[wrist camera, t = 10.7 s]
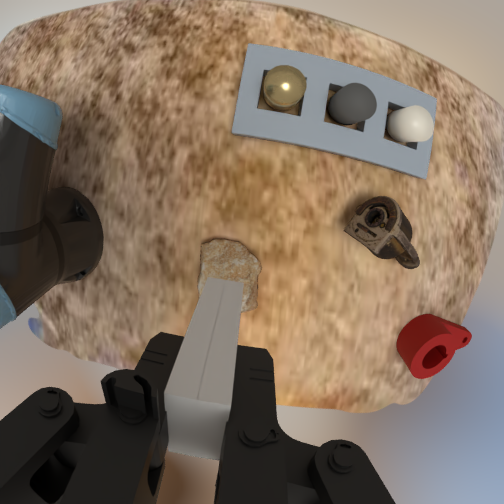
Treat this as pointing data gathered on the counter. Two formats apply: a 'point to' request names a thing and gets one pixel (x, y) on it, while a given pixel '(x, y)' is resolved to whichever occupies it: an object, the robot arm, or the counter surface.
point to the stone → (231, 268)
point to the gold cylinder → (284, 87)
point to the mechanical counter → (384, 231)
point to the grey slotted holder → (314, 105)
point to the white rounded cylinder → (410, 124)
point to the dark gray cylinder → (352, 104)
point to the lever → (430, 344)
